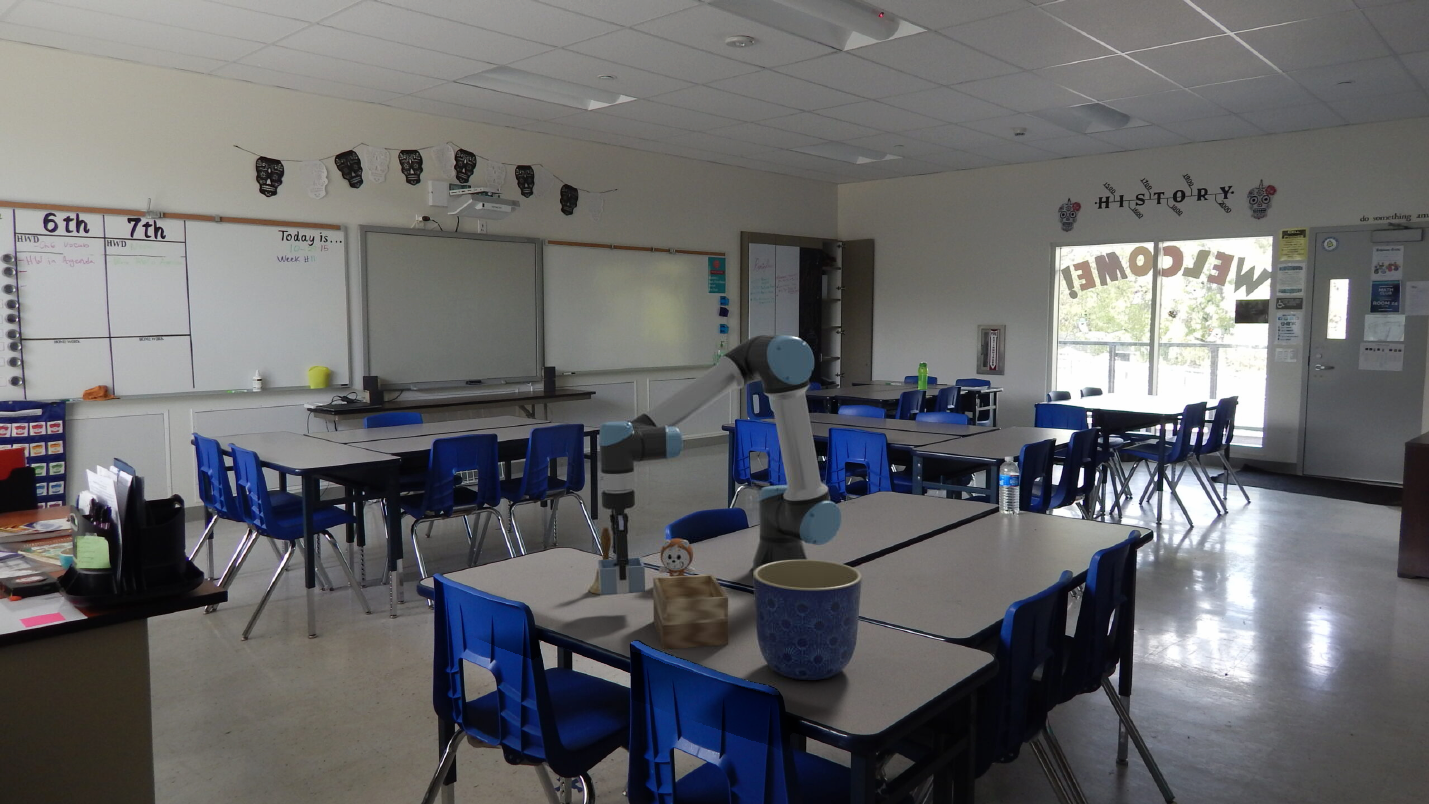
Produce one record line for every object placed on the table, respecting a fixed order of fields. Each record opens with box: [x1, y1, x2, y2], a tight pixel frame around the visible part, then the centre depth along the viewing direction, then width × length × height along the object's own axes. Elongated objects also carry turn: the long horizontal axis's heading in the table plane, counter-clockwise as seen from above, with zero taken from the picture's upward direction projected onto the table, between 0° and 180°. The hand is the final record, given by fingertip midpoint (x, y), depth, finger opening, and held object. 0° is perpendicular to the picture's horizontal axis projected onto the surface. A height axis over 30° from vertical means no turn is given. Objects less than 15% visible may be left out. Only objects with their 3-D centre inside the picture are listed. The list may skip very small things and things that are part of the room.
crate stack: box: [652, 574, 729, 650], centre depth 192 cm, size 14×18×10 cm
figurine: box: [658, 537, 696, 577], centre depth 227 cm, size 9×9×12 cm
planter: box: [752, 559, 863, 681], centre depth 171 cm, size 21×21×19 cm
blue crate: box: [597, 556, 646, 596], centre depth 204 cm, size 10×8×6 cm
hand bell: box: [588, 526, 612, 595], centre depth 223 cm, size 8×8×16 cm
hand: (621, 587), depth 204 cm, fingers closed on blue crate, 8 cm apart
